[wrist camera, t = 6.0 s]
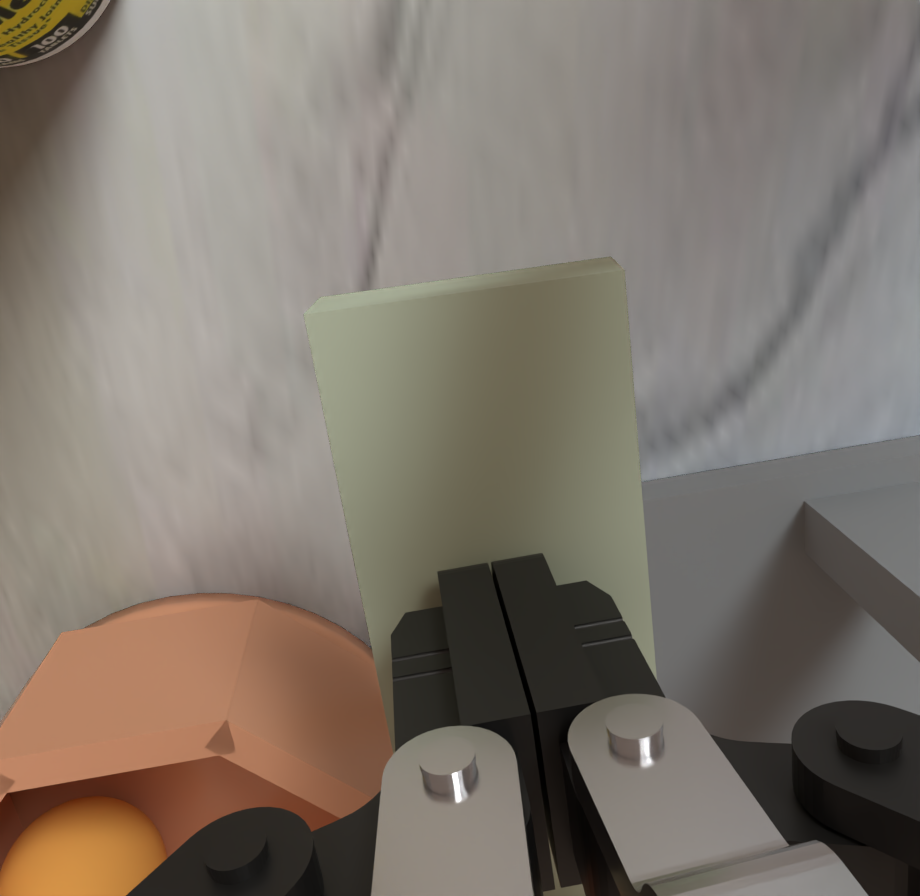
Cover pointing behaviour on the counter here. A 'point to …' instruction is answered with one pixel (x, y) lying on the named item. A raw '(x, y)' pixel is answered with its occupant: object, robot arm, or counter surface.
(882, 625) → the chute stand
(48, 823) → the ball
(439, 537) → the chute
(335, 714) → the orange octagonal bowl
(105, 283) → the counter surface
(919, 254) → the counter surface
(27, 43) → the pill bottle
